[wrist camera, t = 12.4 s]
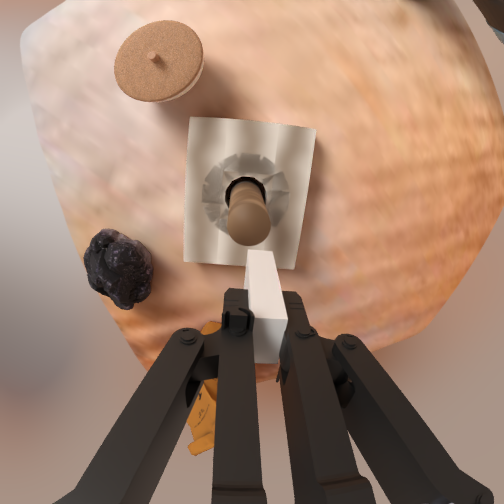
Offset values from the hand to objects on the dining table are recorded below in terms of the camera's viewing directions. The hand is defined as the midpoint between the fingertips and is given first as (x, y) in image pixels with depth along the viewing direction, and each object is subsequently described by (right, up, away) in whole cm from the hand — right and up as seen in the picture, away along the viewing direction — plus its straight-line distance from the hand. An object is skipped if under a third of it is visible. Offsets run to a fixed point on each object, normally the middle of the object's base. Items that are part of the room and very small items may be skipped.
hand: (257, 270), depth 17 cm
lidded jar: (-12, +26, +14) cm, 32 cm away
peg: (-1, +10, +22) cm, 24 cm away
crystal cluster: (-22, -1, +26) cm, 34 cm away
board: (-1, +10, +22) cm, 24 cm away
